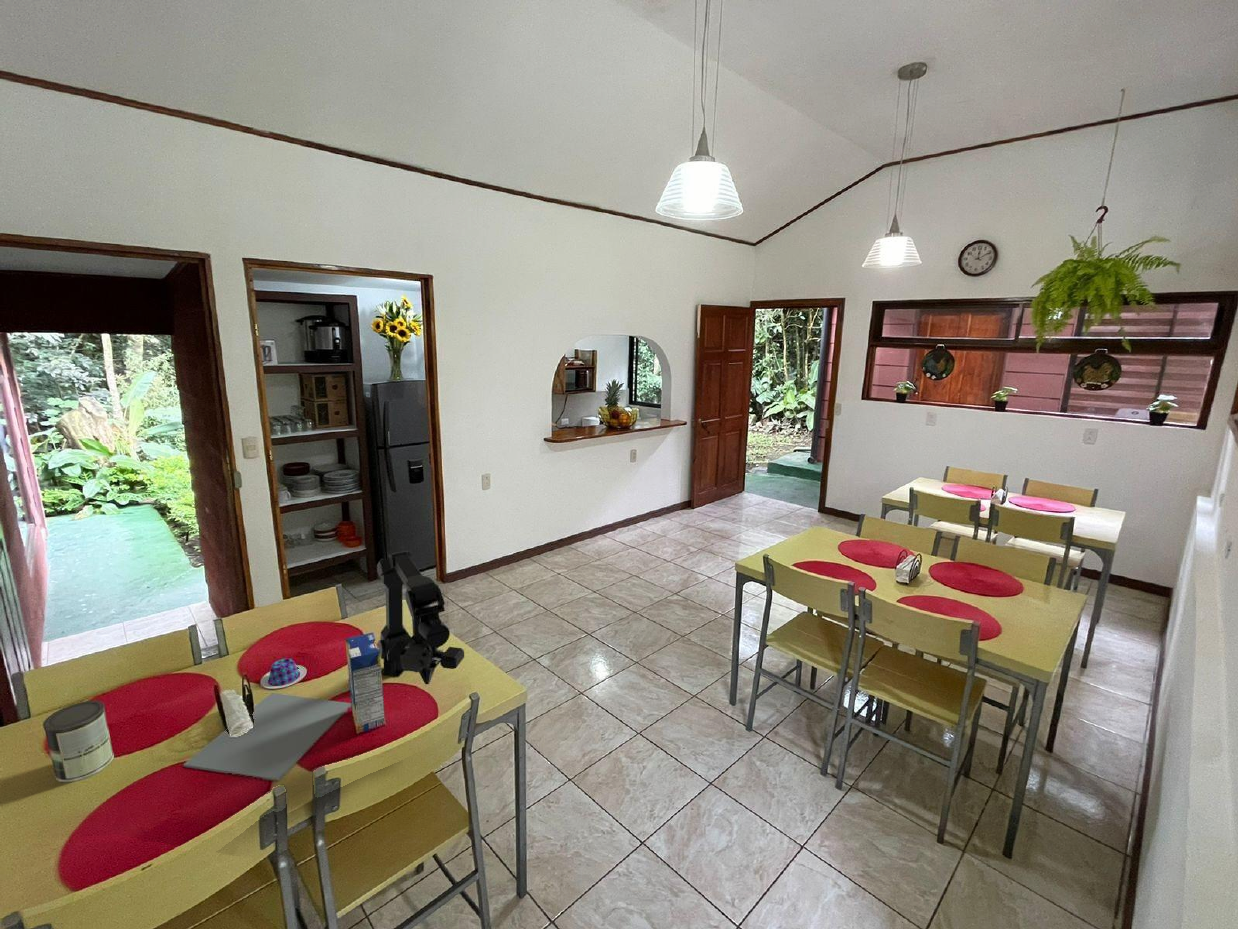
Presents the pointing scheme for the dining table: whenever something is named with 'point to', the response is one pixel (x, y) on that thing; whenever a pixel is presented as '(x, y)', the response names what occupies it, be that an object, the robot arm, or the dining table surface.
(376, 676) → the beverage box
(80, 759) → the coffee can
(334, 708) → the mat
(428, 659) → the robot arm
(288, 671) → the pudding
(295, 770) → the dining table surface
